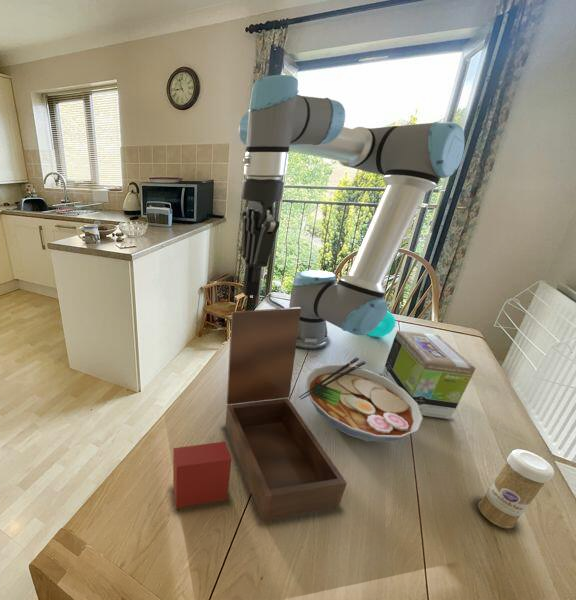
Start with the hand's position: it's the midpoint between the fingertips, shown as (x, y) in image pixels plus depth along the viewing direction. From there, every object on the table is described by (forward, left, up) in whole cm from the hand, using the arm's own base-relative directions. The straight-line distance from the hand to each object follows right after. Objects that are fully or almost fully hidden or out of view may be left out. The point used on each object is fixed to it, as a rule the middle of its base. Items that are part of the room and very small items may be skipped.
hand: (250, 293), depth 67 cm
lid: (+9, 0, -10) cm, 14 cm away
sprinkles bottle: (+35, +33, -29) cm, 56 cm away
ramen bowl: (+12, +23, -29) cm, 39 cm away
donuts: (-24, +57, -29) cm, 68 cm away
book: (+24, -16, -28) cm, 40 cm away
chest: (+20, 0, -28) cm, 35 cm away
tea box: (+7, +44, -29) cm, 53 cm away
